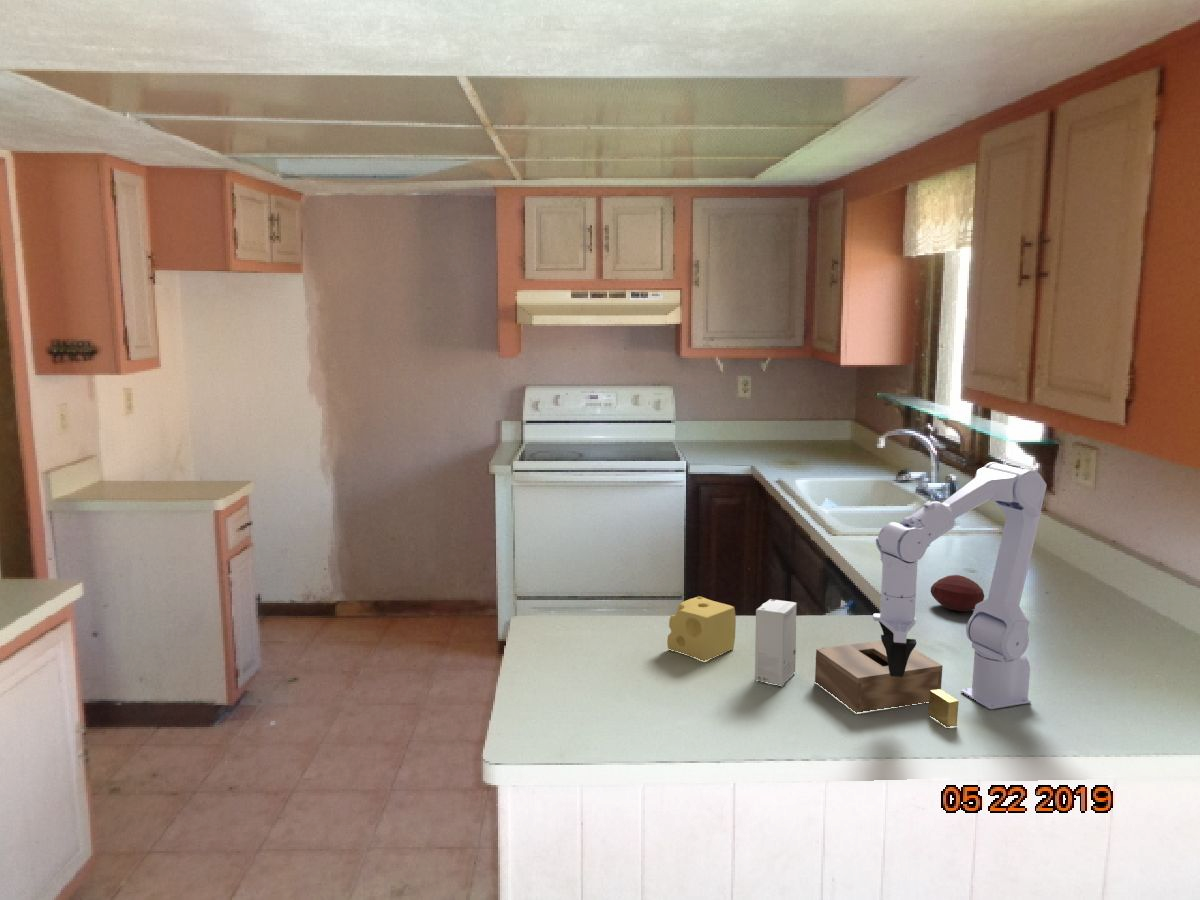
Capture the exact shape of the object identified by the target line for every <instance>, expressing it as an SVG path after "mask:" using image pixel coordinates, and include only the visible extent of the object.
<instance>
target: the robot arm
mask: <svg viewBox="0 0 1200 900" xmlns="http://www.w3.org/2000/svg"><path fill="white" fill-rule="evenodd" d="M1047 485H1048V484H1047V483H1046V481H1045V480H1044V478H1043V476H1042V475H1041V474H1040V473H1039V472H1038V471H1035V470H1033V469H1024V468H1021V467H1017V466H1011V465H1006V464H1003V463H1000V462H997V461H991V462H988V463H986V464H985V465H984V466H983V467H981V468H979V469H977V470H976V473H975V476H974V478H972V480H970V481H969V482H968V483H966V484H965V485H963V486H962V487H961V488H960V489H958V490H957V491H955V492H954V493H953V494H951V495H950V496H949V497H948V498H946V499H945V500H944V501H943V502H941V501H936V500H934V501H927V502H925V503H923V505H922V506H923V507H921V508H919V509H918V510H916V511H915V512H913V513H912V514H910V515H909V516H905V517H903V519H902V520H901V521H900V522H892V521H891V522H889V523H887V524H886V525H884V526H883V527H882V528H881V529H880V530H879V533H878V536H877V538H875V546H876V548H877V550H878V551H879V554H880V561H881V563H882V564H881V566H882V567H881V570H882V571H881V585H880V586H881V588H880V589H881V591H880V609H879V610H880V612H878V613H873V614H872V620H873V621H875V622H878V623H879V626H880V627H881V630H882V633H883V634H881V635H880V641H881V640H882V643H883V645H884V647H885V649H886V654H887V658H888V667H889V673H890V676H896V677H903V675H904V672H905V669H906V665H907V661H908V658H909V656H910V654H911V652H912V650H913V649H915V648H916V645H917V639H914V638H907V635H908V632H909V631H911V629H912V628H913V627H914V626H916V623H917V622H916V621H917V619H916V600H917V597H916V596H917V580H918V579H917V577H918V562H919V561H920V560H921V559H922V558H923V557H924V555H925V553H926V552H927V549H928V547H930V546H931V544H932V543H933V542H934V541H936V540H937V539H939V538H941V537H942V536H943V535H946V534H947V533H948V532H949V531H951V530H953V528H954V527H955V523H956V522H955V520H956V519H957V518H959V517H962V516H963V515H965V514H967V513H968V512H970V511H971V510H973V509H975V508H978V507H980V506H981V505H983V504H984V503H986V502H988V501H992V502H994V503H995V504H997V505H998V507H999V508H1000V510H1001V511H1002V513H1003V514H1004V515H1005V522H1004V527H1003V530H1002V535H1001V540H1000V544H999V548H998V553H997V558H996V561H995V566H994V571H993V574H992V578H991V583H990V587H989V591H988V596H987V598H986V599H984V600H983V601H982V602H980V603H978V604H976V605H975V609H973V612H972V614H971V616H970V617H969V620H968V621H967V624H966V628H965V629H966V630H965V631H966V632H965V633H966V636H967V639H968V640H969V641H970V642H971V648H972V649H974V655H973V656H974V657H973V669H972V680H971V681H972V683H971V687H968V688H962V689H961V690H960V692H961V693H962V694H963V693H964V695H965V696H967V697H968V696H969V697H968V698H970V699H972V700H973V699H974V700H973V701H975V700H976V701H975V702H977V703H978V704H980V705H982V706H983V707H985V708H987V709H988V710H995V709H1000V708H1007V707H1008V708H1009V707H1012V706H1017V705H1019V706H1020V705H1024V704H1025V705H1026V704H1031V703H1032V699H1030V698H1029V690H1030V689H1029V688H1030V679H1031V678H1030V676H1031V675H1030V674H1031V667H1030V666H1031V665H1030V662H1029V659H1028V658H1027V656H1026V655H1025V653H1026V651H1027V650H1028V647H1029V641H1030V637H1029V627H1030V620H1029V618H1028V617H1027V615H1026V613H1024V611H1023V610H1022V609H1021V608H1022V607H1021V606H1020V604H1021V601H1022V596H1023V593H1024V589H1025V588H1024V587H1025V583H1026V580H1027V579H1026V578H1027V575H1028V571H1029V566H1030V562H1031V558H1032V553H1033V550H1034V545H1035V541H1036V537H1037V532H1038V528H1039V524H1040V519H1041V514H1042V508H1043V503H1044V498H1045V494H1046V491H1047Z"/></svg>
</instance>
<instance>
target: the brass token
mask: <svg viewBox="0 0 1200 900" xmlns="http://www.w3.org/2000/svg"><path fill="white" fill-rule="evenodd" d="M959 701H960V700H958V699H956V698H954V697H953V696H951V695H950V694H949V693H948V692H947V693H946V691H944V690H942V689H941V690H940V689H937V690H930V702H929V703H928V704H929V705H928V717H929V716H931V717H933V718H935V719H936V720H938V721H939V722H940V723H942V724H943V725H945V726H946V727H950V726H957V727H958V718H959V717H958V716H959V715H958V713H959Z"/></svg>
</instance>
